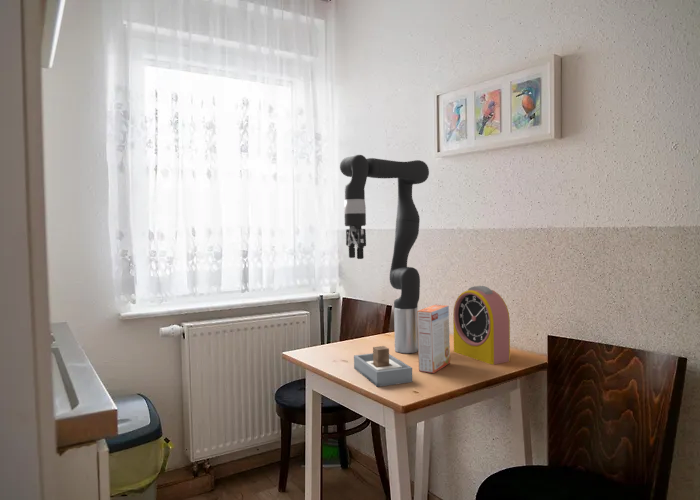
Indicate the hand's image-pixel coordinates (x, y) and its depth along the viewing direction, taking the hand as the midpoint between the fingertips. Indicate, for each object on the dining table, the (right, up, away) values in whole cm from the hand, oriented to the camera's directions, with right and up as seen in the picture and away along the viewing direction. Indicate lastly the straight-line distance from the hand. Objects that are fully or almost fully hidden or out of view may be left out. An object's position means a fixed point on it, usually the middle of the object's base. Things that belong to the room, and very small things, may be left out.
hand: (356, 258), depth 167 cm
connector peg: (+8, -38, -11) cm, 40 cm away
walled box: (+8, -38, -11) cm, 41 cm away
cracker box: (+27, -38, -4) cm, 47 cm away
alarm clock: (+47, -37, +9) cm, 60 cm away
